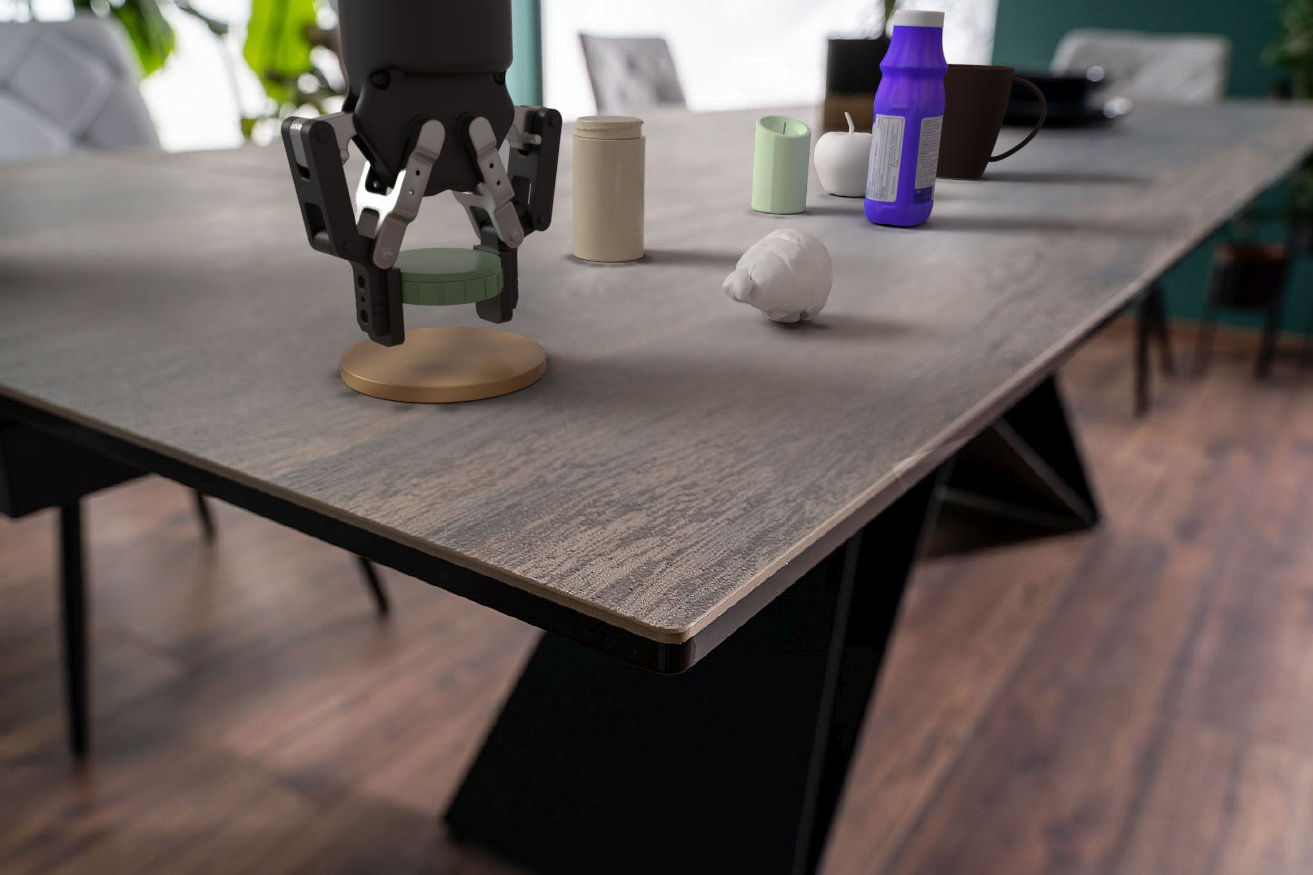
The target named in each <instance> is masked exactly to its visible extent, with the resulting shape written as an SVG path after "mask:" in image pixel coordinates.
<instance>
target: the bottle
mask: <svg viewBox="0 0 1313 875" xmlns="http://www.w3.org/2000/svg"><path fill="white" fill-rule="evenodd" d="M945 16H946V15H945V12H944V11H939V10H919V9H916V10H914V9H904V10H903V9H900V10H898V9H897V10H896V11H894V18H893V24H892V26H893V28H892V34H891V38H890V39H891V40H890V43H889V46H888V49H887V52H886V53H885V55H884V57H883V58H882V60H881V61H880V63H879V70H880V71H881V75H882V77H881V80H880V82H879V85H878V86H877V90H876V93H875V98H874V102H873V121H872V132H871V134H872V140H871V149H870V159H869V169H868V178H867V187H866V195H865V199H864V200H863V210H864V215H865V218H866V219H867V221H869V222H870V223H873V224H882V225H891V226H898V227H911V226H912V227H913V226H917V225H920V224H923V223H925V222H926V221H927V220H928V219H929V218H930V216H931V214H932V212H933V207H934V197H935V190H936V189H935V188H936V180H937V178H936V171H937V162H938V154H939V145H940V136H941V128H942V120H943V113H944V110H945V91H944V84H943V77H944V75H945V73H946V72H947V71H948V67H949V66H948V64H949V63H948V62H947V60H946V56H945V52H944V44H943V43H944V42H943V38H944V34H943V33H944V27H945V26H944V25H945Z"/></svg>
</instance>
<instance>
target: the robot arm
mask: <svg viewBox="0 0 1313 875" xmlns="http://www.w3.org/2000/svg"><path fill="white" fill-rule="evenodd" d="M512 2H513V1H512V0H337V10H338V11H337V12H338V13H337V14H338V24H339V35H340V36H339V38H340V49H341V59H342V62H343V65H344V67H345V71H346V75H347V81H348V83H347V84H348V85H347V91H346V95H345V97H344V100H343V102H342V105H341V109H340V111H337V112H333V113H328V114H324V115H320V116H316V117H312V118H308V117H304V116H303V117H302V116H296V115H290V116H287V117H286V118H285V119H284V120H283V121H282V123H281V126H280V134H281V139H282V143H283V146H284V151H285V155H286V159H287V162H288V166H289V169H290V174H291V178H292V182H293V185H294V190H295V194H296V197H297V201H298V205H299V209H300V213H301V217H302V221H303V225H304V229H305V233H306V237H307V240H308V241H307V242H308V244H309V246H310V247H311V248H312V249H313V251H316V252H320V253H323V254H325V255H329V256H333V257H336V258H338V259H341V260H344V261H347V262H349V264H350V266H351V268H352V275H353V286H354V287H353V289H354V300H355V309H356V310H355V312H356V313H355V314H356V322H357V324H358V327H359V328H360V331H362V332H364V333H367V336H368V339H369V338H370V339H371V340H372V341H373V342H376V343H378V344H381V345H383V346H386V347H392V346H397V345H402V344H403V343H404V341H405V317H404V316H405V315H404V314H405V313H404V303H403V299H402V283H401V268H398V267H394V266H393V265H394V264H395V262H396V260H397V257H398V254H399V252H400V250H401V247H402V244H403V240H404V238H405V234H406V231H407V227H408V226H409V224H410V223H411V224H412V223H413V222H414V221H415V219H416V218H417V217H418V214H419V210H420V207H421V205H422V201H423V198H429V197H434V196H437V195H439V194H441V193H444V192H446V191H451V192H452V195H453V197H454V198H455V200H456V201H457V202H458V203H459V204H460V205H461V206H462V207H463V208H464V211H465V213H466V215H467V217H468V219H469V222H470V224H471V227H472V228H473V231H474V233H475V236H476V237H477V239H479V240H480V243H479V244H474V245H472V249H475V250H481V251H485V252H489V253H493V254H495V255H497V256H499V257H500V258H501V268H503V282H504V287H502V291H501V293H499V294H498V295H496V296H494V297H492V298H489V299H487V300H483V301H478V302H474V303H475V311H476V315H477V316H478V318H479V319H481V320H484V321H486V322H490V323H493V324H496V325H500V324H504V323H510V322H511V321H512V319H513V316H514V312H513V311H514V310H516V309H517V306H518V302H519V280H518V279H519V264H518V263H519V261H518V260H519V259H518V251H519V247H520V246H521V245H522V243H523V242H524V239H525V238H526V237H528V236H530V235H531V234H533V233H534V232H545V231H547V230H548V229H549V228H550V226H551V225H552V224H551V223H552V219H553V210H554V202H555V193H556V192H555V191H556V183H557V175H558V174H557V173H558V165H559V158H560V157H559V155H560V146H561V138H562V129H563V116H562V114H561V112H560V110H558V109H556V108H550V107H546V106H539V105H527V104H525V105H524V104H521V105H516V104H514V101H513V98H512V97H511V95H510V93H509V92H510V91H509V90H508V87H507V86H508V85H507V81H506V79H507V78H506V76H507V72H508V70H509V69H510V67H511V66H512V64H513V61H514V38H513V5H512ZM350 141H352V142H353V143H354V145H355V146H356V148H357V149H358V150H359V151H360V153H361V155H362V156H363V157H364V158H365V161H364V164H363V167H362V171H361V173H360V177H359V180H358V184H357V188H356V190H355V193H354V195H353V196H354V197H353V203H354V205H355V212H354V208H353V204H352V199H351V195H350V190H349V186H348V182H347V177H346V174H345V168H344V165H345V164H346V163H347V161H349V159H350V151H349V144H350ZM504 141H506V142H507V144H508V145H509V152H508V160H507V161H508V162H507V171H506V169H505V166H504V164H503V161H502V159H501V156H500V153H499V152H500V149H501V147H502V145H503V144H504ZM388 188H389V189H390V190H392V191H391V193H389V194H387V193H388Z"/></svg>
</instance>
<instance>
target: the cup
mask: <svg viewBox="0 0 1313 875" xmlns="http://www.w3.org/2000/svg"><path fill="white" fill-rule="evenodd" d="M947 64H948V66H949V67H948V71H947V72H946V73H945V75H944V77H943V84H944V91H945V110H944V113H943V120H942V128H941V136H940V145H939V154H938V162H937V171H936V179H947V180H948V179H949V180H964V181H965V180H966V181H975V180H978V179H981V178H982V177H983V175H984V173H985V171H986V169H987V166H988V165H989V163H997V162H1000V161H1003V160H1005V159H1007V158H1009V157H1011V156H1012V155H1014V154H1016V153H1017V152H1019V151H1020V150H1021V149H1023V148H1024V147H1026V146H1027V145H1028V144H1029V143H1030V142H1031V141H1032V140H1033V139H1034V138H1035V137H1036V136H1037V134H1038V133H1039V131H1040V130H1041V128H1042V126H1043V124H1044V123H1045V120H1046V116H1047V102H1046V98H1045V95H1044V93H1043V92H1042V90H1041V89H1040V88H1039V87H1038V86H1037V85H1035V83H1033V82H1032V81H1030V80H1028V79H1027V78H1026V79H1025V78H1024V77H1019V76H1015V72H1016V71H1015V70H1016V69H1015V67H1013V66H1006V65H991V64H969V63H968V64H966V63H947ZM1013 83H1015V84H1019V85H1022V86H1025V87H1026V88H1028V89H1029V90H1030V91H1032V92H1033V93H1034V94H1035V95H1036V96H1037V99H1038V101H1039V104H1040V116H1039V119H1038V121H1037V123H1036V125H1035V127H1034V128H1033V129H1032V131H1031V132H1030V133H1029V134H1028V135H1027V136H1026V137H1025V138H1024V139H1023V140H1021V142H1019V143H1018V144H1016V145H1015V146H1013V147H1012V148H1010V149H1008V150H1007V151H1005V152H1003V153H1000V154H997V155H994V156H993V152H994V150H995V147H996V144H997V141H998V138H999V134H1000V132H1001V129H1002V125H1003V122H1004V118H1005V115H1006V112H1007V109H1008V105H1009V100H1010V98H1011V93H1012V88H1013Z"/></svg>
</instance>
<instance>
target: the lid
mask: <svg viewBox="0 0 1313 875" xmlns="http://www.w3.org/2000/svg"><path fill="white" fill-rule="evenodd" d="M393 266H394V267H398V268H401V283H402V299H403V305H411V306H425V307H432V306H433V307H438V306H439V307H442V306H443V307H445V306H456V305H459V306H460V305H467V304H473V303H475V302H478V301H483V300H487V299H489V298H492V297H494V296H496V295H498V294H499V293H501V291H502V287H504V282H503V268H501V258H500V257H499V256H497V255H495V254H493V253H489V252H485V251H481V250H475V249H473V248H463V247H426V248H425V247H424V248H415V249H413V248H412V249H407V250H406V249H405V250H401V251H400V250H399V254H398V257H397V260H396V262H395V264H394V265H393Z"/></svg>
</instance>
